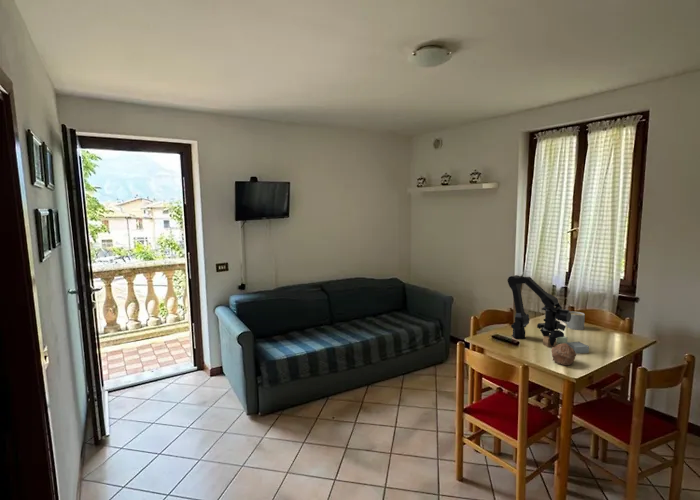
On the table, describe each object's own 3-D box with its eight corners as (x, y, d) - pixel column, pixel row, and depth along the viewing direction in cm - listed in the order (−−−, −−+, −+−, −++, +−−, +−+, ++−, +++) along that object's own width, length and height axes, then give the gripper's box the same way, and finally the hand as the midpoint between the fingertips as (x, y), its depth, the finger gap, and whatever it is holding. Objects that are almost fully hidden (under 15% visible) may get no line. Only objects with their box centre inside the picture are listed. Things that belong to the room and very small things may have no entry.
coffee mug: (586, 327, 259) (586, 313, 258) (581, 331, 252) (582, 316, 251) (564, 323, 268) (565, 309, 267) (559, 326, 262) (560, 312, 261)
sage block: (562, 344, 228) (562, 338, 228) (556, 342, 232) (556, 335, 231) (567, 343, 229) (567, 337, 229) (561, 341, 233) (562, 335, 233)
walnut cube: (547, 347, 224) (548, 339, 223) (543, 344, 228) (543, 336, 228) (556, 347, 224) (556, 338, 223) (551, 344, 229) (551, 335, 228)
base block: (575, 354, 213) (575, 347, 213) (565, 349, 221) (566, 342, 221) (588, 353, 214) (589, 346, 214) (578, 348, 222) (578, 341, 222)
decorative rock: (556, 356, 209) (557, 338, 208) (579, 362, 201) (580, 344, 200) (546, 363, 201) (547, 344, 200) (569, 369, 192) (570, 350, 191)
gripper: (573, 322, 215) (572, 349, 217) (554, 313, 234) (553, 338, 236) (554, 323, 215) (553, 349, 217) (537, 314, 234) (536, 338, 235)
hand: (549, 343), depth 226 cm, fingers closed on walnut cube, 5 cm apart
